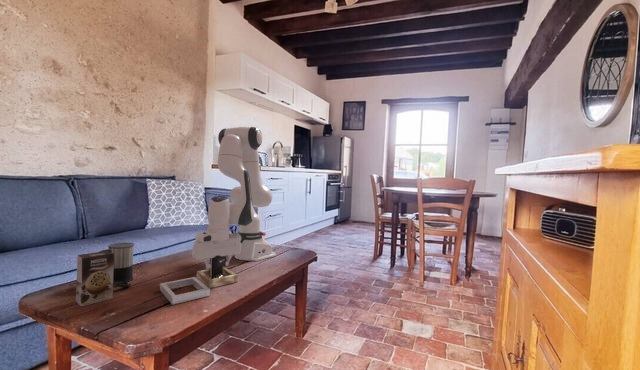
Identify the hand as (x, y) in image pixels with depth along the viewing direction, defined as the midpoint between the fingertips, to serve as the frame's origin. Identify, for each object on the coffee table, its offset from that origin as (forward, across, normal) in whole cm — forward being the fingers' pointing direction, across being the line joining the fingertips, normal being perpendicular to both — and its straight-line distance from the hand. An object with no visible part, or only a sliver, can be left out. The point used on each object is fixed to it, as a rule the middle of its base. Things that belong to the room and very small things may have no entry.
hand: (217, 266), depth 125 cm
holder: (+6, +15, +6) cm, 17 cm away
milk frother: (+6, +32, -18) cm, 37 cm away
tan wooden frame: (+6, 0, 0) cm, 6 cm away
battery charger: (+6, 0, 0) cm, 6 cm away
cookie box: (+6, +41, -5) cm, 42 cm away
